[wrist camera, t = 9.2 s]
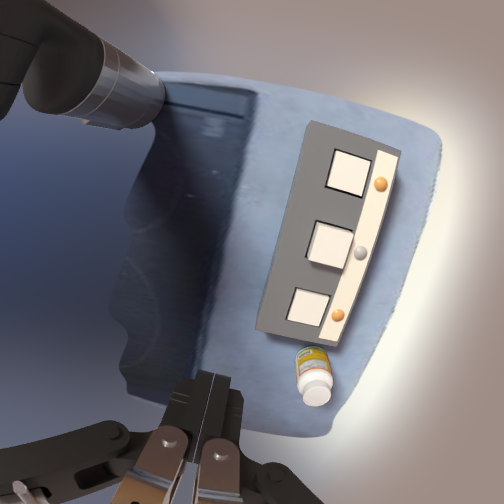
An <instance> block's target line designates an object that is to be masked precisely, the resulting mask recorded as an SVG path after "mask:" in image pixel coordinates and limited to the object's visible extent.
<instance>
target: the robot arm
mask: <svg viewBox="0 0 504 504" xmlns="http://www.w3.org/2000/svg"><path fill="white" fill-rule="evenodd" d="M21 83H22V84H23V93H24V96H25V99H26V101H27V103H28V104H29V105H30V106H31V107H32V108H33V109H35V110H36V111H39V112H42V113H47V114H54V115H61V116H68V117H74V118H81V120H82V122H83V124H85V125H90V126H96V127H102V128H108V129H114V130H121V129H123V128H130V129H133V128H140V127H143V126H145V125H147V124H148V123H150V122H151V121H152V120H154V119H155V117H156V116H157V115H158V114H159V112H160V111H161V109H162V107H163V104H164V100H165V88H164V84H163V82H162V81H161V79H160V78H159V77H158V76H157V75H156V74H154V73H153V72H152V71H150V70H149V69H147V68H146V67H144V66H143V65H142V64H140V63H138V62H137V61H136V60H134V59H133V58H131V57H130V56H128V55H127V54H125V53H124V52H122V51H121V50H119V49H118V48H116V47H115V46H113V45H112V44H110V43H109V42H107V41H105V40H104V39H102V38H101V37H99V36H97V35H96V34H94V33H93V32H91V31H89V30H88V29H87V28H85V27H84V26H82V25H81V24H79V23H78V22H76V21H74V20H73V19H71V18H70V17H68V16H67V15H65V14H64V13H63V12H61V11H60V10H58V9H57V8H55V7H54V6H52V5H51V4H50V3H48V2H47V1H45V0H0V121H1V120H2V119H3V118H4V117H5V116H6V115H7V113H8V112H9V110H10V108H11V106H12V104H13V102H14V100H15V98H16V95H17V93H18V91H19V89H20V86H21ZM213 376H214V373H211V372H207V371H203V370H199V369H198V371H197V374H196V377H195V380H193V379H190V378H186V377H183V378H182V379H181V380H180V381H178V382H177V383H176V386H175V388H174V391H173V393H172V396H171V399H170V401H169V403H168V406H167V408H166V411H165V413H164V416H163V418H162V421H161V423H160V425H159V426H158V427H157V428H156V429H155V430H153V431H150V432H143V433H142V432H141V433H140V432H129V431H128V429H127V428H126V427H125V426H124V425H123V424H121V423H119V422H116V421H111V420H108V421H103V422H100V423H97V424H94V425H91V426H87V427H84V428H81V429H78V430H75V431H71V432H68V433H65V434H61V435H58V436H54V437H50V438H46V439H43V440H39V441H35V442H31V443H27V444H23V445H18V446H14V447H9V448H5V449H0V504H60V503H63V502H66V501H70V500H73V499H76V498H79V497H82V496H85V495H88V494H90V493H93V492H96V491H99V490H101V489H104V488H106V487H109V486H111V485H114V484H116V483H119V482H121V483H120V485H119V487H118V489H117V491H116V493H115V494H114V497H113V498H112V500H111V502H110V504H172V501H173V498H174V496H175V493H176V491H177V488H178V485H179V483H180V480H181V477H182V474H183V473H184V471H185V468H186V464H187V461H188V462H192V461H193V457H194V452H195V449H196V444H197V441H198V437H199V433H200V429H201V425H202V421H203V417H204V413H205V409H206V405H207V401H208V397H209V393H210V388H211V384H212V380H213ZM230 381H231V377H227V376H223V375H219V374H215V377H214V381H213V385H212V389H211V393H210V397H209V401H208V405H207V409H206V413H205V417H204V421H203V425H202V429H201V433H200V438H199V442H198V446H197V451H196V455H195V459H194V463H196V464H198V468H197V472H196V476H195V481H194V489H193V497H192V504H324V503H323V502H322V501H321V500H319V498H318V497H316V496H315V495H314V494H313V493H312V492H311V491H310V490H309V489H308V488H307V487H306V486H305V485H304V484H303V483H302V482H301V481H300V480H299V478H298V477H297V476H296V475H295V474H293V472H292V471H291V470H290V469H289V468H288V467H286V466H285V465H283V464H280V463H276V462H270V463H266V464H263V465H262V464H259V463H257V462H255V461H252V460H250V459H249V458H247V457H246V456H245V455H244V454H243V453H242V452H241V450H240V448H239V437H240V429H241V421H242V412H243V403H244V399H243V396H242V394H241V392H240V391H238V390H234V389H230V388H229V387H230Z"/></svg>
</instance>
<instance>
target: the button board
mask: <svg viewBox="0 0 504 504" xmlns="http://www.w3.org/2000/svg"><path fill="white" fill-rule="evenodd" d="M334 151H339V152H342V153H346V154H349V155H352V156H355V157H358V158H361V159H364V160H367V161H370V166H369V170H368V173H367V177H366V181H365V185H364V189H363V192H362V196H360V195H356V194H353V193H350V192H347V191H343V190H340V189H337V188H333V187H330V186H327V185H325V183H326V179H327V175H328V172H329V168H330V164H331V160H332V156H333V152H334ZM400 155H401V151H400V150H398V149H395V148H393V147H390V146H388V145H385V144H382V143H380V142H377V141H374V140H372V139H369V138H366V137H363V136H360V135H357V134H354V133H351V132H348V131H345V130H342V129H339V128H336V127H332V126H329V125H326V124H322V123H319V122H316V121H312V120H311V121H310V122H309V124H308V125H307V127H306V131H305V135H304V139H303V143H302V147H301V151H300V155H299V159H298V163H297V167H296V171H295V175H294V178H293V182H292V186H291V190H290V194H289V198H288V202H287V205H286V209H285V213H284V217H283V221H282V224H281V228H280V232H279V236H278V239H277V243H276V247H275V250H274V254H273V258H272V262H271V265H270V269H269V272H268V276H267V280H266V283H265V287H264V291H263V294H262V298H261V301H260V305H259V308H258V312H257V318H256V326H255V330H259V331H263V332H268V333H272V334H276V335H281V336H285V337H290V338H295V339H299V340H304V341H309V342H314V343H319V344H324V345H329V346H335V347H337V345H338V343H339V340H340V338H341V336H342V333H343V331H344V328H345V326H346V324H347V321H348V319H349V316H350V314H351V311H352V309H353V306H354V304H355V301H356V299H357V296H358V293H359V291H360V288H361V285H362V283H363V280H364V277H365V274H366V272H367V269H368V266H369V263H370V260H371V257H372V254H373V251H374V248H375V245H376V242H377V239H378V236H379V233H380V229H381V226H382V223H383V220H384V216H385V213H386V209H387V206H388V202H389V199H390V195H391V191H392V188H393V184H394V180H395V176H396V172H397V168H398V164H399V160H400ZM316 221H319V222H323V223H326V224H330V225H333V226H337V227H340V228H344V229H347V230H349V231H350V232H351V233H353V234H354V235H353V238H352V242H351V245H350V248H349V251H348V254H347V257H346V260H345V263H344V266H343V269H342V268H338V267H334V266H330V265H326V264H322V263H318V262H315V261H311V260H309V259H308V257H307V254H306V253H307V250H308V247H309V243H310V240H311V236H312V233H313V229H314V226H315V222H316ZM295 287H298V288H302V289H307V290H311V291H315V292H319V293H323V294H328V296H329V300H328V303H327V305H326V308H325V311H324V314H323V316H322V319H321V321H320V324H319V326H314V325H309V324H305V323H300V322H296V321H291V320H288V318H287V312H288V309H289V306H290V303H291V299H292V296H293V293H294V290H295Z"/></svg>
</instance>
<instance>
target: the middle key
mask: <svg viewBox="0 0 504 504" xmlns="http://www.w3.org/2000/svg"><path fill="white" fill-rule="evenodd" d="M353 235H354V234H353V233H351V232H350V231H349V230H347V229H344V228H340V227H337V226H333V225H330V224H326V223H323V222H319V221H316V222H315V226H314V229H313V233H312V236H311V240H310V243H309V247H308V250H307V253H306V254H307V257H308V259H309V260H311V261H315V262H318V263H322V264H326V265H330V266H334V267H338V268H342V269H343V266H344V263H345V260H346V257H347V254H348V251H349V248H350V245H351V242H352V238H353Z"/></svg>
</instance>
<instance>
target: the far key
mask: <svg viewBox="0 0 504 504" xmlns="http://www.w3.org/2000/svg"><path fill="white" fill-rule="evenodd" d="M328 300H329V296H328V294H323V293H319V292H315V291H311V290H307V289H302V288H298V287H295V290H294V293H293V296H292V299H291V303H290V306H289V309H288V312H287V318H288V320H291V321H296V322H300V323H305V324H309V325H314V326H319V324H320V321H321V319H322V316H323V314H324V311H325V308H326V305H327V303H328Z"/></svg>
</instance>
